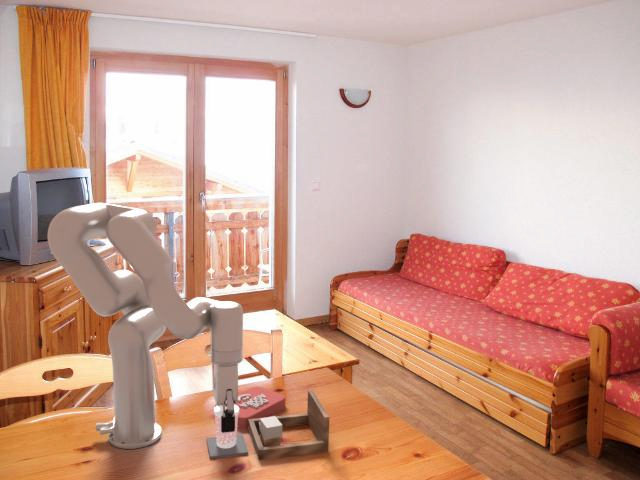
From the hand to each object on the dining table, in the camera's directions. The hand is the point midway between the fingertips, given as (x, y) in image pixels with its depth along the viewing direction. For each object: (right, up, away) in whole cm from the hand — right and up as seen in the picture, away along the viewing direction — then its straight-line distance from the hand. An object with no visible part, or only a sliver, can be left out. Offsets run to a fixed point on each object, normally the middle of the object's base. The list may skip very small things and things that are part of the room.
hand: (226, 424), depth 147 cm
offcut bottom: (+10, -6, +3) cm, 12 cm away
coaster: (0, -6, +1) cm, 6 cm away
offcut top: (+10, -3, +3) cm, 11 cm away
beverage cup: (0, -5, +1) cm, 5 cm away
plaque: (+2, -3, +22) cm, 22 cm away
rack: (+14, -5, +5) cm, 16 cm away
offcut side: (+9, -5, +9) cm, 14 cm away
